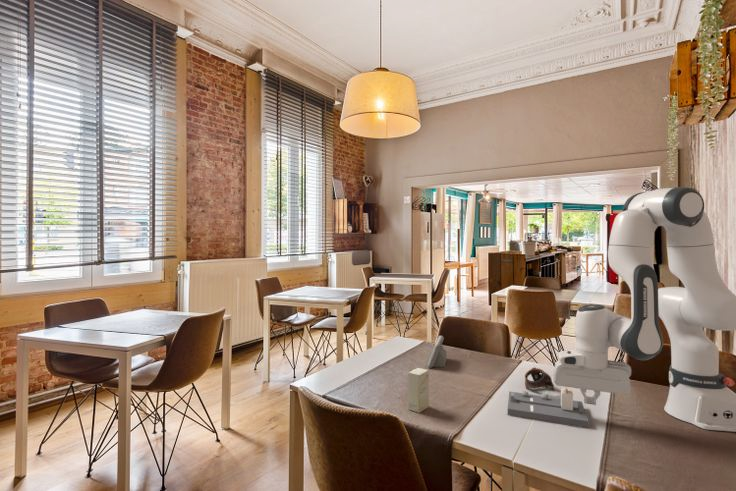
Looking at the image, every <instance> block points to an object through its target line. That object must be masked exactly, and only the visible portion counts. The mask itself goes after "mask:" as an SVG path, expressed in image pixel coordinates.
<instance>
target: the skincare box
mask: <svg viewBox="0 0 736 491" xmlns="http://www.w3.org/2000/svg"><path fill="white" fill-rule="evenodd" d="M429 374H430V372H429V370H428V369H425V368H421V367H416V368H414V369H412V370H410V371H408V372H407V379H408V380H407V385H408V386H407V387H408V388H407V392H408V394H407V395H408V396H407V397H408V399H407V400H408V401H407V402H408V405H407V407H408V408H407V409H408V410H410V411H413V412H415V413H418V414H419V413H421V412H423V411H425V410H426V409H428V408H429V406H430V400H429V398H430V392H429V390H430V389H429V387H430V385H429V378H430V377H429V376H430V375H429Z"/></svg>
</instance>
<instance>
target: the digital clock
mask: <svg viewBox="0 0 736 491" xmlns="http://www.w3.org/2000/svg"><path fill="white" fill-rule="evenodd" d="M444 339H445V338H444V336H443V335H438V337H437V339H436V341H435V344H434V345H433V348H432V350H431V354H430V356H429V359H428V362H427V363H426V365H427V367H428V369H432V368H433V367H436V366H440V367H439V368H445V366H446V364H447V350H446V349H444V347H443V343H444Z"/></svg>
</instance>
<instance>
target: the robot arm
mask: <svg viewBox="0 0 736 491" xmlns="http://www.w3.org/2000/svg"><path fill="white" fill-rule="evenodd" d="M703 198H704V197H703V196H702V195H701V193H700V192H699V191H698V190H697V189H696V188H692V187H687V186H677V187H665V188H655V189H653V190H649V191H642V192H639V193H634V194H633V195H631V196H630V197H628V198H627V199H626V201H625V203H624V204H623V206H622V211H621V212H619V213H618V214H617V215H615V217H614V220H613V223H612V226H611V230H610V235H609V239H608V240H609V242H608V247H607V248H608V249H607V258H608V259H607V260H608V265H609V268H610V269H611V270H612V271H613V272H614V273H615V274H616V275H617V276H619V277H620V278H621V279H622V280H623V281H624V282H625V283H626V284H627V286H628V288H629V290H630V305H631V306H630V313H631V315H630V317H627V316H623V315H620V314H618V313H616V312H614V311H612V310H610V309H609V308H607V307H606V306H605V305H603V304H597V303H596V304H593V303H591V304H585V305H582V306H579V308H577V311H576V314H575V319H574V320H575V321H574V335H575V343H574V348H573V349H572V348H571V349H568V350H567V349H566V350H561V351H559V352H558V355H557V356H558V357H557V358H558V360H557V361H556V362H555V364H554V369H553V375H552V376H553V380H552V381H553V384H555V385H556V386H558V387H564V388H573V389H579V390H580V393H581V395H582V396H583V401H584V404H587V405H594V406H596V405H597V400H598V399H599V397H600V396H601V392H603V393H610V394H617V395H618V394H619V395H625V396H627V395H629V394H630V393H631V381H630V377H631V376H632V367H631V365H629V364H627V363H626V362H625V361H616V360H609V348H611V347H612V348H613V347H614V348H616V349H617V350H620V351H621V352H623V353H625V354H626V355H628V356H630V357H632V358H633V359H635V360H637V361H648V360H651V359H653V358H655V357H657V355H659V354H660V353H661V351H662V349H663V347H664V337H663V333H662V329H661V326H660V320H661V321H662V323H663V325H664V326H665V329H666V331H667V334H668V337H669V340H670V356H671V357H670V359H671V364H670V365H669V371H668V381H669V391H668V396H667V398H666V402H665V405H664V408H663V409H664V411H665V413H667V414H669V415H670V416H672V417H674V418H676V419H679V420H681V421H683V422H687V423H689V424H692V425H694V426H696V427H698V428H700V429H704V430H709V431H722V432H723V431H724V432H733V433H735V432H736V392H734V391H733V390H731V389H730V388H729V387H734V385H735V384H736V383H735V381H734V380H733V379H732V378H730V377H726V376H725V375H724V374H722V373H721V372H719V368H720V367H719V364H720V363H719V362H720V360H719V359H720V358H719V357H720V350H719V348H718V346H717V345H716V343H715V342H714V341H713V340H711V339H710V338H709V337H708V335H707V334H706V333H705V331H704V329H709V330H713V331H723V332H724V331H726V332H727V331H728V332H734V331H736V295H735V294H734V292H732V291H731V290H730V289H729V286H728V285H727V284H726V283H725V282H724V279H722V276H721V275H720V272H719V269H718V265H717V258H716V251H715V250H716V249H715V240H714V233H713V227H712V225H711V222H710V219H709V216H708V214H707V213H706V212H705V201H704V199H703ZM658 227H663V228H664V230H665V232H666V234H665V236H666V239H665V240H666V241H665V242H666V252H667V263H668V264H667V265H668V269H669V271H670V273H671V274H672V275H673V276H675V277H677V278H678V280H680V281H681V283H682V284H683V287H682V286H667V287H666V286H665V287H659V282H658V276H657V273H656V270H655V268H654V258H653V256H654V255H653V252H654V241H655V240H654V238H655V236H654V235H655V234H654V233H655V232H656V230H657V228H658ZM587 390H589V391H593V392H594V394H593V395H592V396H589V395H588V396H587V394H586V393H587Z"/></svg>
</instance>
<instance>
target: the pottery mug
mask: <svg viewBox="0 0 736 491" xmlns="http://www.w3.org/2000/svg"><path fill="white" fill-rule="evenodd" d="M529 376H531V378H532V380H530V379H528V377H529ZM524 378H525V379H524V387H525V388H526V389H536V388H537V389H540V388H542V387H543V388H545V389H546V387H550V388H551V389H552V391H555V386H554V382H553V380H552V377H551V376H550V375H549V374H548V373H547V372H545V371H544V370H543V369H541V368H537V367H535V366H534V367H532V368H531V369H529V370H528V371H526V373H525V374H524Z"/></svg>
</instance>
